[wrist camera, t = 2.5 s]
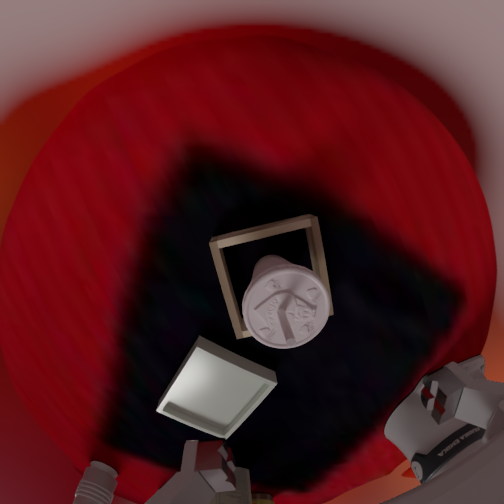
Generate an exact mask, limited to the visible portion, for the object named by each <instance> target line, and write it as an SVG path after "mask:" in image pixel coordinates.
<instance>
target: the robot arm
mask: <svg viewBox="0 0 504 504" xmlns="http://www.w3.org/2000/svg"><path fill="white" fill-rule="evenodd" d="M484 370H485V360H484V358H483V356H482V355H478V356H475V357H473V358H471V359H468V360H466V361H463V362H461V363H458V364H457V363H456V362H453V361H452V362H450V363H449V364H447V365H445V366H443V367H441V368H439V369H437V370H435V371H434V372H432V373H430V374H428V375H426V376H424V377H423V378H422V379H421V381H420V382H419V384H418V385H417V387H416V388H415V390H414V391H413V392H412V393H411V394H410V395H409V396H408V397H407V398H406V399H405V400H404V401H403V402H402V403H401V404H400V405H399V406H398V407H397V408H396V409H395V411H394V412H393V413H392V415H391V416H390V418H389V419H388V421H387V423H386V426H385V430H384V433H385V436H386V438H387V439H389V440H390V441H391V442H393V443H394V444H395V445H396V446H397V447H398V448H399V449H400V450H401V451H402V452H403V454H404V455H405V456H406V457H407V458H408V460H409V461H410V462H411V467H412V469H413V472H414V474H415V476H416V477H417V479H418V480H419V481H420V483H421V485H419V486H417V487H415V488H413V489H411V490H409V491H407V492H405V493H403V494H401V495H399V496H397V497H395V498H392V499H390V500H387V501H385V502H383V503H380V504H504V383H501V382H494V381H489V380H487V379H486V377H485V376H484ZM235 469H236V462H235V457H234V454H233V451H232V450H231V448H229V447H228V442H227V440H226V439H225V438H215V439H203V440H190V441H186V443H185V447H184V453H183V459H182V466H181V472H177V473H176V474H175V475H174V476H173V477H172V478H171V479H170V480H169V481H168V482H167V483H166V484H165V485H164V486H163V487H162V488H161V489H160V490H159V491H157V492H156V493H155V494H154V495H153V496H152V497H151V498H150V499H149V500H148V501H147V502H146V503H145V504H208V503H209V502H210V501H211V499H212V498H213V496H214V495H215V492H224V491H233V490H236V476H235V475H234V473H233V472H234V470H235Z"/></svg>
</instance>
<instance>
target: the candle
mask: <svg viewBox="0 0 504 504" xmlns="http://www.w3.org/2000/svg"><path fill="white" fill-rule="evenodd" d="M117 476H118V474H117V472H116V471H115V470H114V469H113V468H111V467H110V466H108V465H106V464H104V463H102V462H98V461H92V462H91V467H87V468H86V470H85V473H84V476H83V479H81V480H80V484H79V485H78V487H79V488H77V492H76V493H75V500H74V502H73V504H111V502H112V498H113V492H114V490H115V487H116V485H117V481H116V479H115V478H116V477H117Z"/></svg>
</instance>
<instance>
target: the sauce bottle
mask: <svg viewBox="0 0 504 504" xmlns="http://www.w3.org/2000/svg"><path fill="white" fill-rule="evenodd" d="M251 495H252V504H274V502H273V498H272V496H271V495H270V494H266V493H253V494H251Z"/></svg>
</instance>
